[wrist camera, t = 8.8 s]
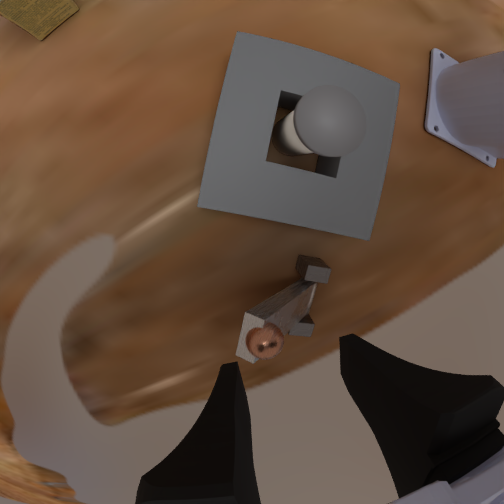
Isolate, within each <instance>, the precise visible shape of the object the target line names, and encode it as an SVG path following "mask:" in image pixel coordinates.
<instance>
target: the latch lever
mask: <svg viewBox="0 0 504 504" xmlns="http://www.w3.org/2000/svg"><path fill="white" fill-rule="evenodd" d="M317 284H318V282H313V281H307V280H304V279H303V278H302V277H301V279H299V280H298V281H296V282H295V283H293V284H291V285H290V286H288V287H286V288H285V289H283V290H281V291H280V292H278V293H276V294H275V295H273V296H271V297H270V298H268V299H266V300H265V301H263V302H261V303H260V304H258V305H256V306H255V307H253V308H251V309H250V310H248V311H246V312H245V315H244V320H243V324H242V329H241V333H240V338H239V342H238V347H237V351H236V355H237V356H239V357H241V358H243V359H245V360H247V361H249V362H251V363H253V364H254V363H255V362H256V361H257V360H258V359H263V360H265V359H271V358H273V357H275V356H276V355H278V354H279V353H280V351H281V350H282V348H283V345H284V335H285V334H287V333H288V332H289V331H290V330H291V329H292V328H293V327H294V326H295V325H296V324H297V323H298V322H299V321H300V320H301V319H302V318H303V317H304V316H305V315H308V314H309V311H310V308H311V305H312V301H313V298H314V295H315V291H316V288H317Z"/></svg>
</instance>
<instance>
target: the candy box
mask: <svg viewBox="0 0 504 504" xmlns="http://www.w3.org/2000/svg"><path fill="white" fill-rule="evenodd" d="M78 10H79V8H78V6H77V5H76V3H75V2H74V1H73V0H0V15H1V16H3V17H5V18H6V19H8V20H9V21H11V22H12V23H14V24H16V25H17V26H19V27H20V28H22V29H23V30H25V31H27V32H28V33H30V34H31V35H32V36H34V37H36V38H37V39H38V40H40V41H41V40H43V39H44V38H45V37H46V36H47V35H48V34H50V33H51V32H52V31H53V30H54V29H55V28H56V27H58V26H59V25H60V24H61V23H62V22H64V21H65V20H66V19H67V18H69V17H70V16H71V15H72V14H74V13H75V12H76V11H78Z"/></svg>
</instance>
